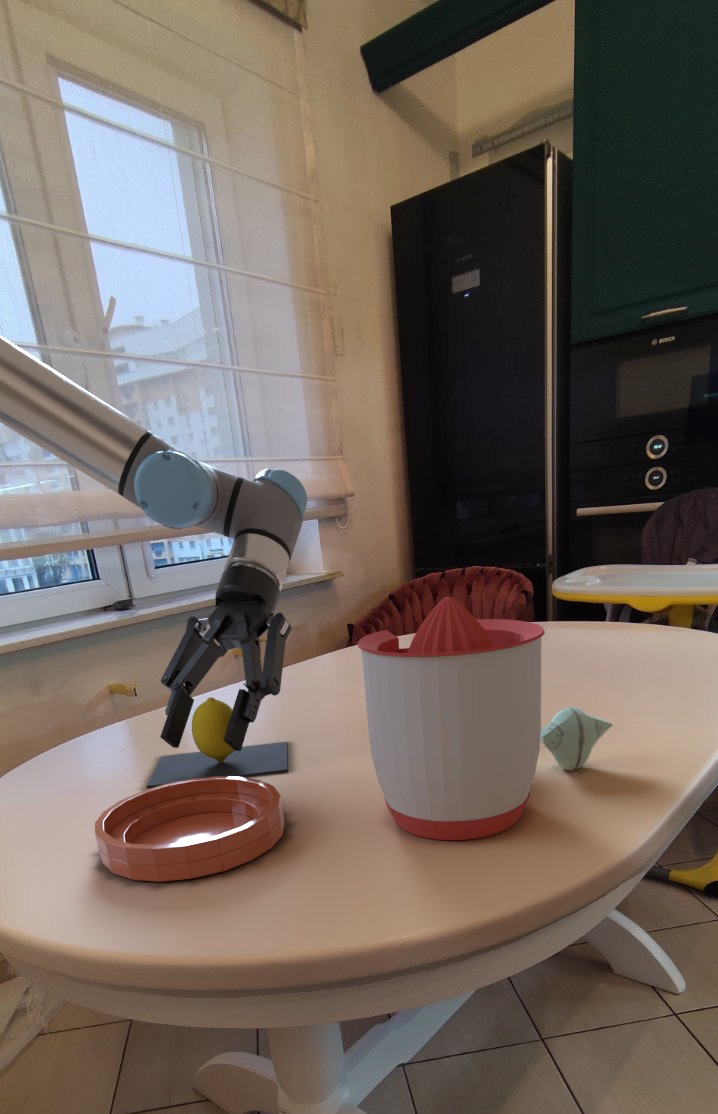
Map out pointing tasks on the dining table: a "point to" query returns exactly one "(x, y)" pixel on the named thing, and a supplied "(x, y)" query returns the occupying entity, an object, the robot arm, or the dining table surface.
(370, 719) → the citrus juicer
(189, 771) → the mat
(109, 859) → the bowl
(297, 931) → the dining table surface
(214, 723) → the lemon
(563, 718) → the pale green angular piece
